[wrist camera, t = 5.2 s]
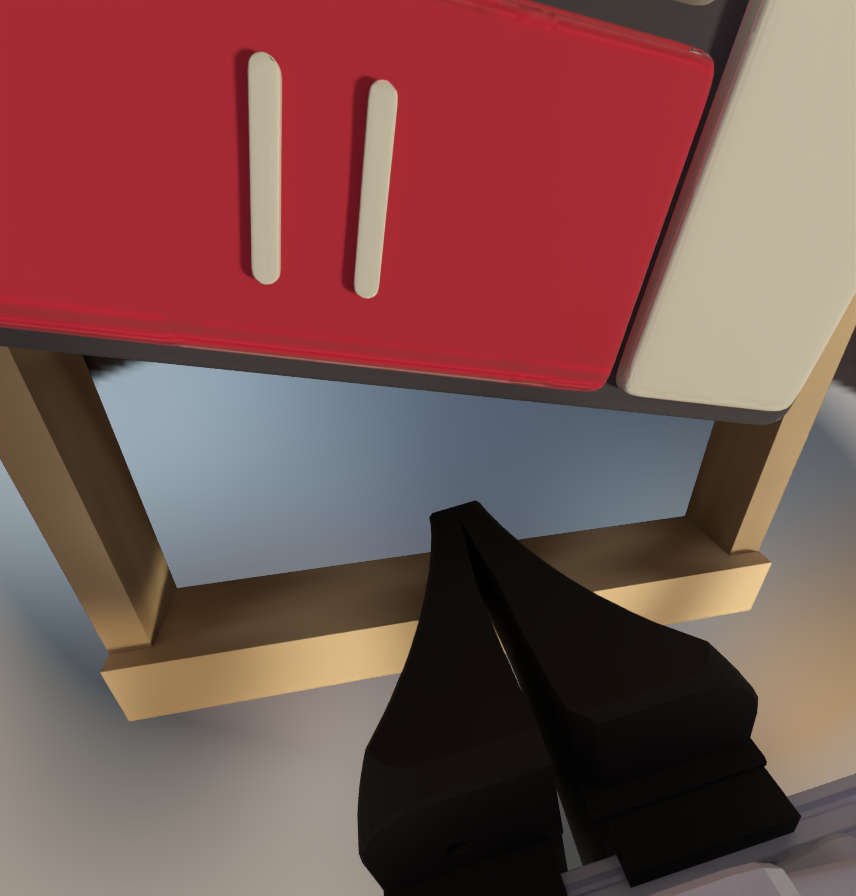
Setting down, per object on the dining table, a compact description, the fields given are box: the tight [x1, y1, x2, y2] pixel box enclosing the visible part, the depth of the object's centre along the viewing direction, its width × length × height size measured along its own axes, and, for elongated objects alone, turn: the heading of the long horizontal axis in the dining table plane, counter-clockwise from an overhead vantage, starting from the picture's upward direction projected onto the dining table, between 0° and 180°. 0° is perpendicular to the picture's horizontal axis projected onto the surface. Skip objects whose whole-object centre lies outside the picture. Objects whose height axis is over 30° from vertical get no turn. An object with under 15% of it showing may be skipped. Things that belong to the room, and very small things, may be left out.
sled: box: [0, 293, 856, 721], centre depth 9 cm, size 18×21×2 cm
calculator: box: [0, 0, 856, 425], centre depth 7 cm, size 11×4×15 cm
